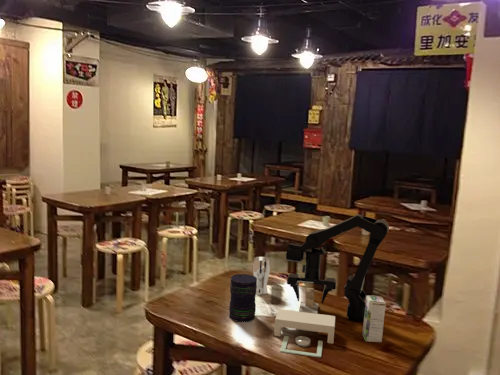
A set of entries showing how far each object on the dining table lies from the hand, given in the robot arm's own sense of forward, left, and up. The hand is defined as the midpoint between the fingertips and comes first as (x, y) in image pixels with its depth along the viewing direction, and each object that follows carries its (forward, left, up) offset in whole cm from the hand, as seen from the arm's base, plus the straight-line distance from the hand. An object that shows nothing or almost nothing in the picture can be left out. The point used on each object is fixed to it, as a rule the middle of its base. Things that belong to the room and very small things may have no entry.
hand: (310, 302), depth 187 cm
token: (0, +30, -3) cm, 30 cm away
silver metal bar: (0, +8, -3) cm, 8 cm away
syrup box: (-23, +19, -3) cm, 30 cm away
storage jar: (+24, +15, -3) cm, 28 cm away
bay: (0, +32, -3) cm, 32 cm away
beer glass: (+22, -12, -3) cm, 25 cm away
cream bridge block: (0, +22, -3) cm, 23 cm away
